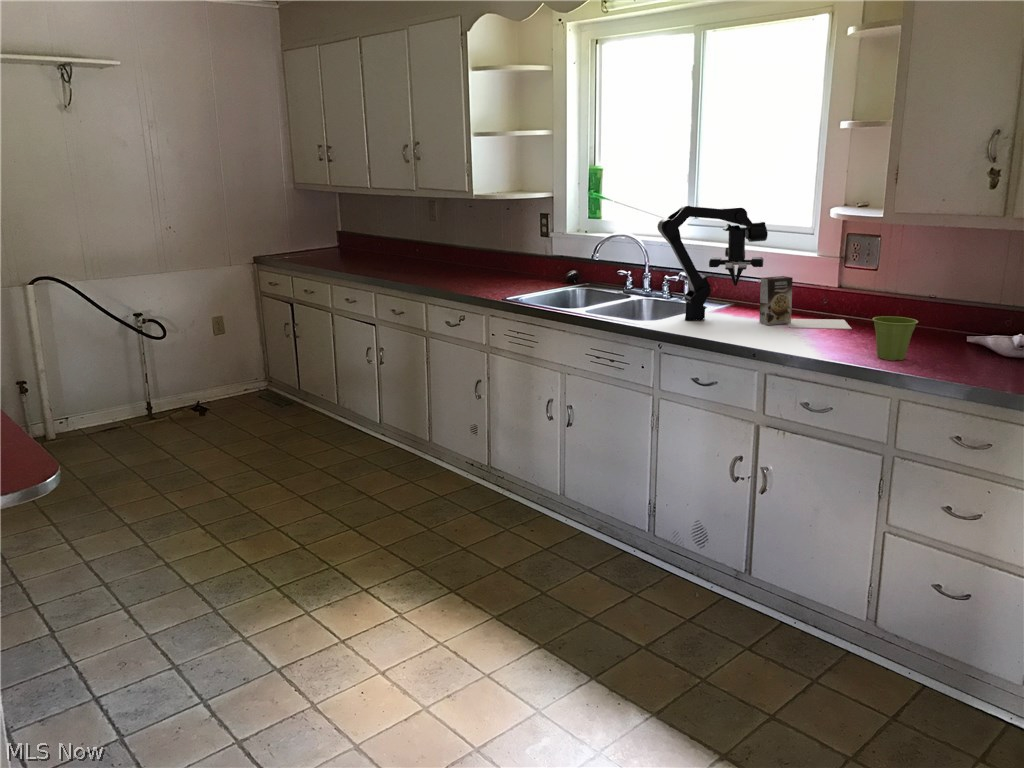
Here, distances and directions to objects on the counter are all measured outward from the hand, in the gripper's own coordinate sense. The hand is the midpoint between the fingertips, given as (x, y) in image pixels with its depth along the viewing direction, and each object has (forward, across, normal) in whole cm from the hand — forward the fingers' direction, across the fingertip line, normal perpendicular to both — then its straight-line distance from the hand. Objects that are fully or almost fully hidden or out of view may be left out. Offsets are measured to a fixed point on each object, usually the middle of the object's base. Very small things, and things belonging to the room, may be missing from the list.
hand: (735, 285), depth 296 cm
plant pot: (+11, -47, +56) cm, 74 cm away
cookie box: (+12, -14, +9) cm, 21 cm away
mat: (+12, -28, +7) cm, 32 cm away
